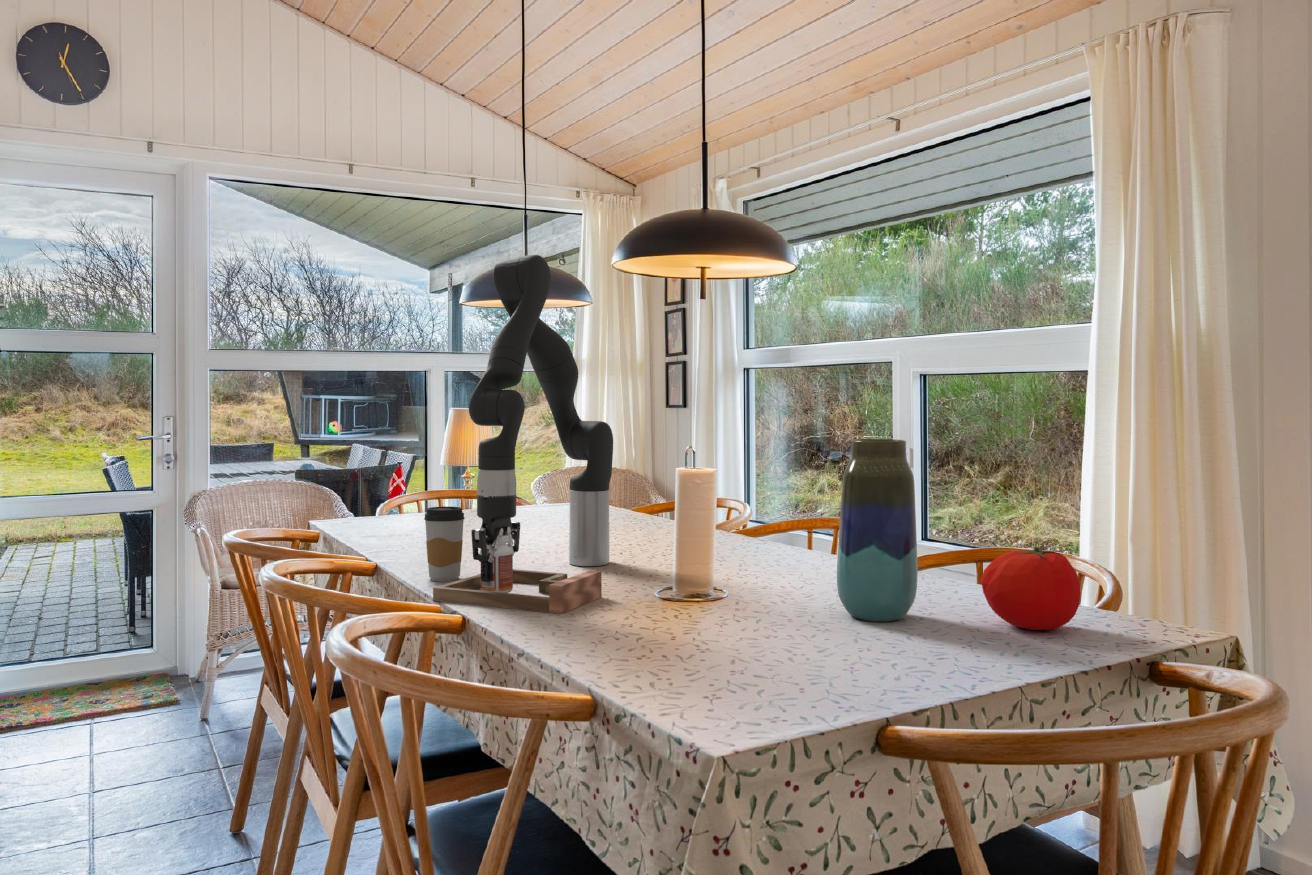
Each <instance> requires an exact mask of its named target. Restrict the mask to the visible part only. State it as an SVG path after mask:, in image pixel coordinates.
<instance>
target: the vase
mask: <svg viewBox="0 0 1312 875" xmlns="http://www.w3.org/2000/svg"><path fill="white" fill-rule="evenodd" d="M850 450H851V453H850V456H851V457H850V459H849V461H848V463H847V465H846V468H845V470H844V473H843V476H842V477H843V478H842V484H841V485H842V487H841V499H840V516H839V528H838V529H839V532H838V544H837V560H836V561H837V563H836V565H837V566H836V585H837V594H838V597H839V600H840V602H841V604H842V606H843V608H844V609H845V610H846V612H848V614H849V615H850V616H852V617H854V618H856V619H857V620H861V621H862V620H863V621H869V622H878V623H879V622H881V623H882V622H893V621H898V620H901V619H903V617H905V616H906V615H907V614H908V612H909V611H910V610H911V608H912V606H913V604H914V602H915V601H916V600H915V599H916V596H917V591H918V590H917V589H918V574H919V573H918V572H919V571H918V569H919V568H918V543H917V542H918V539H917V513H916V494H915V493H916V491H915V490H916V489H915V477H914V474H913V470H912V469H911V466H910V464H909V462H908V459H907V442H906V440H904V439H889V438H888V439H887V438H883V439H882V438H859V439H858V438H857V439H852V440H851V449H850Z"/></svg>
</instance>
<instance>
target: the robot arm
mask: <svg viewBox="0 0 1312 875" xmlns="http://www.w3.org/2000/svg"><path fill="white" fill-rule="evenodd" d="M551 272H552V271H551V269H550V266H549V264H548V262H547V261H546V259H545V258H544V257H543V256H541V255H538V254H528V255H527V254H526V255H523V256H517V257H513V258H508V259H507V258H506V259H504V260H503V259H502V260H500V261H497V262H496V263H495V264H494V266H493V269H492V280H493V284H494V285H493V286H494V288H495V291H496V294H497V295H498V297H499V300H500V301H501V304H502V305H503V308H504V309H505V311H506V313H507V314H508V317H509V318H508V320H507V321H506V322H505V324H504V325H503V327H502V328H501V329H499V332H498V333H497V335H496V336H495V338H494V340H493V342H492V346H491V349H490V354H489V357H488V362H487V366H486V370H485V371H484V372H483V375H482V377H481V378H480V380H479V382H478V383H477V385H476V387H475V388H474V390H473V392H472V394H471V396H470V399H469V403H468V414H469V416H470V420H471V421H472V422H473V423H474V424H475V425H478V426H481V427H502V428H501V431H500V432H499V434H498V435H497V436H495V437H488V438H485V439H482V440H481V441H480V442H479V444H478V459H477V462H478V465H477V467H478V471H477V480H476V515H477V517H478V518H479V519H481V520H482V521H481V526H480V528H472V529H471V532H470V533H471V545H472V547H471V548H472V559H473V561H474V560H475V561H478V562H479V563H480V574H481V580H482V581H483V582H491V581H492V580H493V562H492V560H493V556H494V552H496V551H497V550H498V546H499V542H500V537H502V535H509V541H508V543H507V545H508V546H510V547H511V548H512V553H513V557H514V555H515V553H518V552H519V550H520V536H521V522H520V521H512V520H511V519H512V518H515V517H516V516H517V477H516V446H517V442H518V436H519V433H520V428H521V426H522V425H521V424H522V422H523V418H524V415H525V410H526V408H525V407H526V406H525V405H526V404H525V400H524V397H523V396H522V395H521V393H520V392H519V391H517V390H515V389H511V388H513V387H516V386H518V385H519V384H520V382H521V381H522V377H523V373H524V368H525V362H526V359H527V358H526V357H528V358H529V361H530V364H531V366H532V369H533V371H534V373H535V374H534V375H535V376H536V378H537V380H538V383H539V385H540V386H541V388H542V391H543V394H544V396H545V399H546V401H547V403H548V406H549V408H550V411H551V416H552V418H553V421H554V425H555V427H556V431H557V434H558V437H559V441H560V443H561V446H562V449H563V451H564V453H565V454H566V455H567V457H568V458H569V459H572V460H574V461H586V466H585V467H586V468H585V470H584V471H582V472H581V473H579V474H576V475H574V476H572V477H571V478H570V479H569V539H568V540H569V545H568V546H569V549H568V550H569V554H568V555H569V556H568V558H569V559H568V560H569V564H570V565H572V566H576V567H577V566H578V567H579V566H580V567H597V566H605V565H608V564H609V563H610V484H611V479H612V473H613V460H614V459H613V458H614V435H613V431H612V428H611V426H610V425H609V423H607V422H605V421H602V420H601V421H599V420H582V419H581V418H580V416H579V414H578V412H577V409H576V405H575V402H574V401H575V400H574V399H575V394H576V389H577V386H578V382H579V368H578V365H577V361H576V360H575V357H574V355H573V352H572V350H571V348H570V345H569V343H568V342H567V341H566V340H565V339H564V338H563V337H562V335H560V334H559V333H558V332H556V330H554V329H553V328H552V327H550V326H549V325H548V324H547V323H546V322H544V321H543V320H542V319H541V318H540V316H541V314H542V311H543V309H544V306H545V304H546V303H547V302H546V301H547V299H548V297H549V294H550V290H551V286H552V285H551V284H552V275H551V274H552V273H551ZM509 388H510V389H509ZM487 544H488V545H487ZM489 545H491V546H489ZM479 549H480V550H479ZM487 550H489V554H488V555H487ZM479 551H480V552H479Z"/></svg>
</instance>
